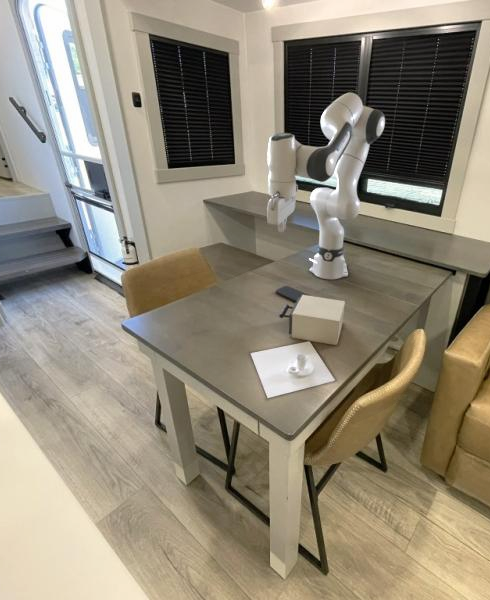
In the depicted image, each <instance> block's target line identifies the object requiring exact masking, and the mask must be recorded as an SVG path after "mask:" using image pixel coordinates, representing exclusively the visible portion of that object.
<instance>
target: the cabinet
mask: <svg viewBox="0 0 490 600" xmlns="http://www.w3.org/2000/svg"><path fill="white" fill-rule="evenodd" d="M345 306H346V301H345V300H338V299H332V298H325V297H319V296H313V295H310V296H307V295H302V297H301V299H300V300H299V302H298V304H297V306H296V308H295V310H294V312H293V314H292V334H291V338H292V339H298V340H303V341H310V342H314V343H321V344H327V345H333V346H338V342H339V338H340V335H341V331H342V327H343V322H344V315H345Z"/></svg>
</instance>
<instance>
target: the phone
mask: <svg viewBox="0 0 490 600" xmlns="http://www.w3.org/2000/svg"><path fill="white" fill-rule="evenodd" d="M275 294H278V295H280V296H282V297H284V298H286V299H288V300H290V301H293V302H295V303H296V301H297V300H298V298H299V297H302V295H307V296H311V295H310V294H308V293H306V292H303V291H301V290H298V289H296V288H294V287H292V286H289V285H284V286H282V287H279V288H277V289H276V290H275Z"/></svg>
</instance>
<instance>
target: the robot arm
mask: <svg viewBox="0 0 490 600" xmlns="http://www.w3.org/2000/svg"><path fill="white" fill-rule="evenodd" d="M385 125H386V116H385V113H383V112H382V111H381V110H379V109H377V108H375V109H374V108H372V107H369V106H366V105H363V101H362V99H361V97H360V96H359V95H358V94H356V93H354V92H347V93H344V94H342V95H340V96H339V97H338V98H336V99H335V100H334V101H332V102H331V103H330V105H328V106H327V107H326V109H324V111H323V113H322V115H321V117H320V128H321V131H322V133H323V135H324V136H325V138H326V139H328V140H329V142H328V144H327V145H326V146H325V145H324V146H312V145H304V144H303V143H300V142H299V141H298V140H297V139H296V138H295V135H294V134H292V133H288V132H282V133H281V132H279V133H274V134H273V135H272V136H270V137H269V141H268V147H267V168H268V171H269V172H268V177H267V194H268V195H269V196H270V197H271V198H270V199H269V200H268V202H267V208H266V209H267V212H266V222H267V224H268V225H271V226H277V231H278V233H284V231H286V229H287V226H286V225H287V221H288V217H289V216H290V215H292V213H294V212H295V209H296V204H297V203H296V202H297V192H298V191H299V190H298V189H299V186H298V184H297V178H296V177H301V178H304V179H310V180H314V181H317V182H320V183H324V182H327V181H328V180H329V179H330V178H332V176H334V178H335V180H336V188H335V189H333V188H330V187H316V188H314V190H312V192H311V194H310V197H309V202H310V206H311V208H312V209H313V211H314V212H315V215H316V218H317V222H318V227H319V236H318V237H319V238H318V244H317V253H316V254H315V255H314V256H313V259H312V258H309V259H308V260H309V261H311V262H313V265H312V266H311V267H310V268H309V272H310V273H312V274H314V276H316V277H318V278H320V279H324V280H338V279H341V278H347V277H348V276H349V272H348V267H347V263H346V258H345V257H344V251H345V250H344V240H345V239H344V238H345V229H344V227H343V225H342V224H341V223H340V221H339V219H340V220H342V221H343V220H345V221H353V220H355V219H356V218H357V217H358V216H359V214H360V212H361V201H360V198H359V197H358V190H357V189H358V188H357V187H358V182H359V179H360V177H361V173H362V171H363V168H364V166H365V163H366V162H367V161H366V160H367V157H368V154H369V150H370V145H371V144H374V142H375V141H377V140H378V139H379V138H381V136H382V134H383V132H384V130H385Z"/></svg>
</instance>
